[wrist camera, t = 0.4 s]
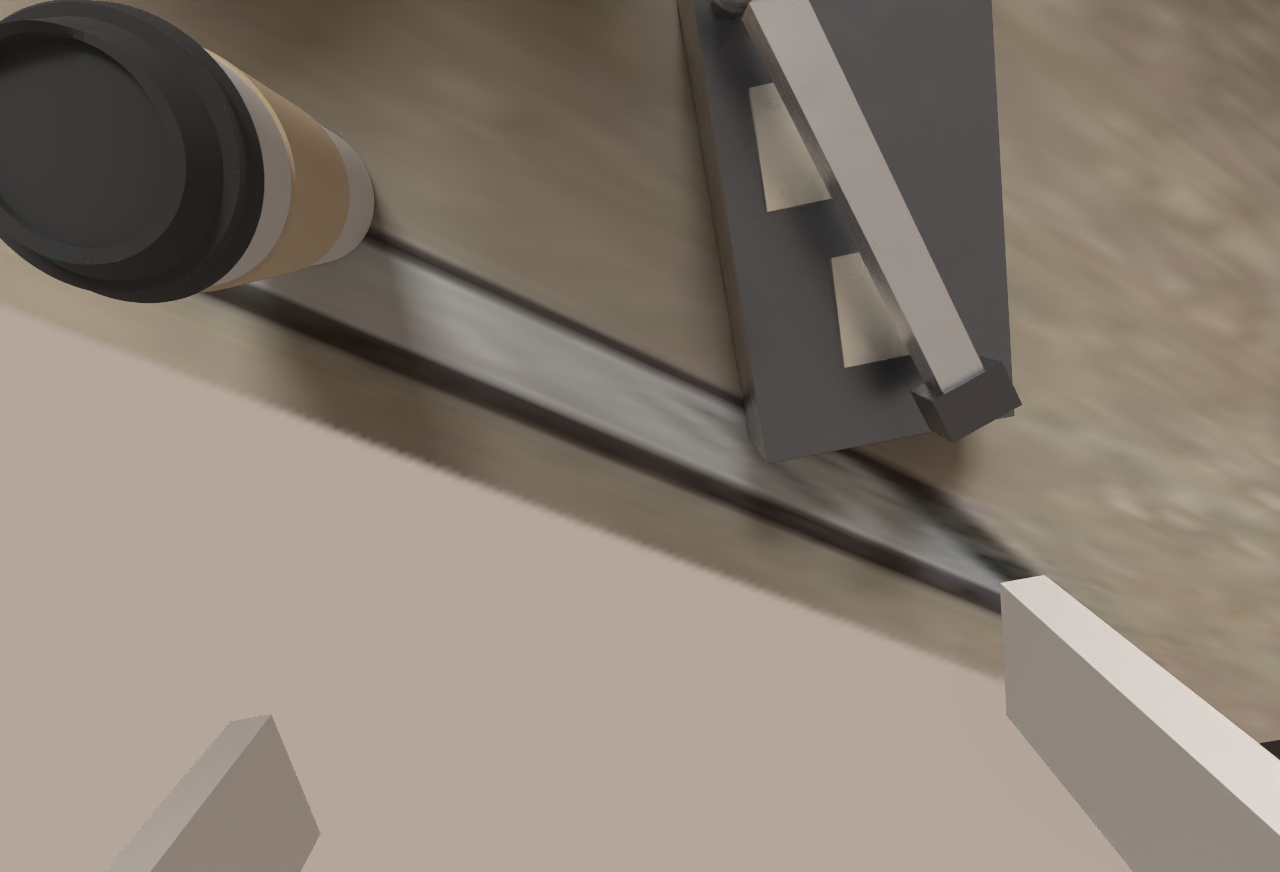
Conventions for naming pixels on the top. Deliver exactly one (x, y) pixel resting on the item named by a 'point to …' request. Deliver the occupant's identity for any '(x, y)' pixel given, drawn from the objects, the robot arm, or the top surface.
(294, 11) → the top surface
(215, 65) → the coffee cup
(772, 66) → the grey long bar
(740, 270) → the lever switch
